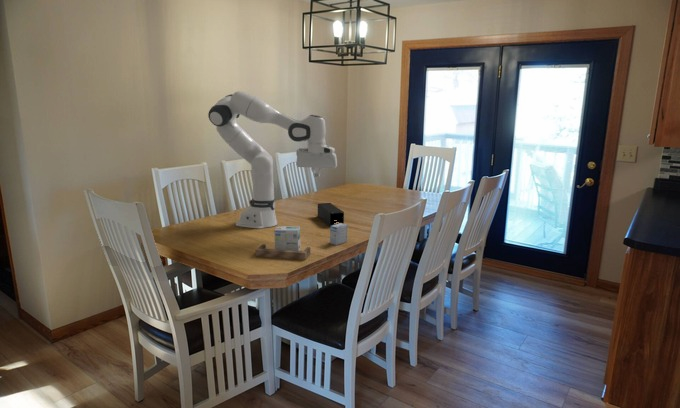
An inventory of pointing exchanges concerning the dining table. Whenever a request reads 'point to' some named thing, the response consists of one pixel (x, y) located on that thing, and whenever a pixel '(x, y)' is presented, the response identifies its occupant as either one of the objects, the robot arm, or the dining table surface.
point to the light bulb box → (287, 238)
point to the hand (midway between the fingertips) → (316, 176)
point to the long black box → (330, 213)
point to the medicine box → (338, 233)
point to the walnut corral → (282, 253)
